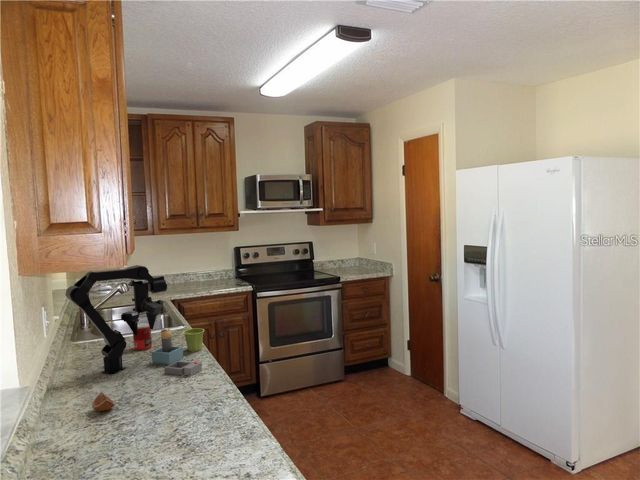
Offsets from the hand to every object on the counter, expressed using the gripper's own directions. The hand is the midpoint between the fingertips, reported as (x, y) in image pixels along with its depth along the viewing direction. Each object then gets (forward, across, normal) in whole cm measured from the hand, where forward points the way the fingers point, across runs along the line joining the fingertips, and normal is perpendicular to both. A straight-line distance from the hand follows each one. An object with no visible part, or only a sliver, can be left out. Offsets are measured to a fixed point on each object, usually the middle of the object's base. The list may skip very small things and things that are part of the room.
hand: (144, 332), depth 200 cm
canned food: (+13, +16, +16) cm, 26 cm away
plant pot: (+13, +20, -10) cm, 26 cm away
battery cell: (+12, +4, -8) cm, 15 cm away
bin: (+13, +4, -8) cm, 16 cm away
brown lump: (+13, -42, -20) cm, 48 cm away
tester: (+13, -5, -23) cm, 27 cm away
